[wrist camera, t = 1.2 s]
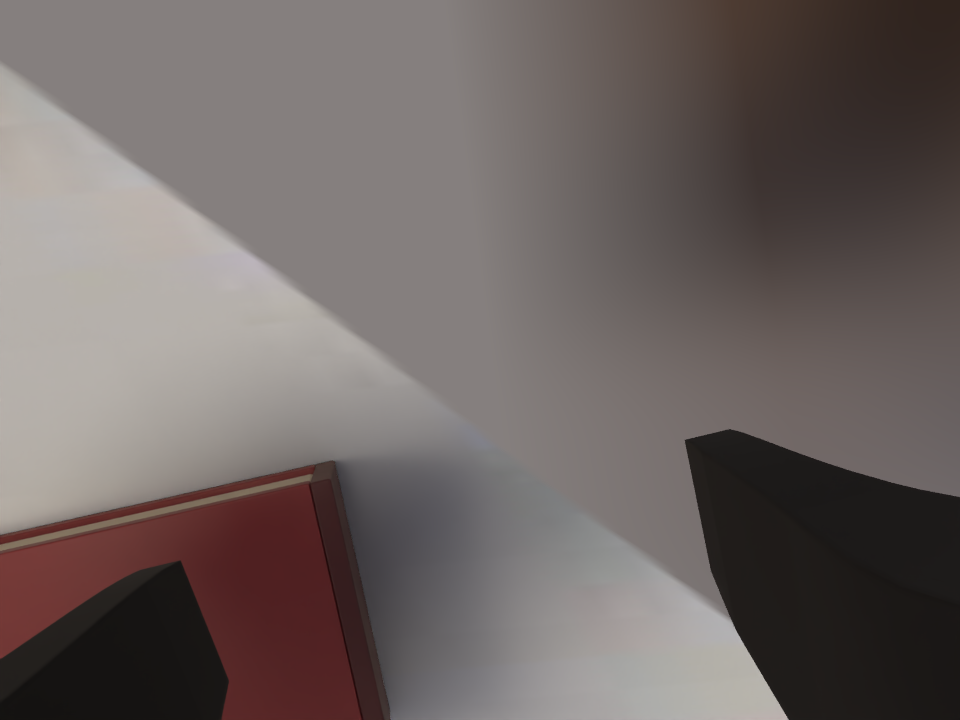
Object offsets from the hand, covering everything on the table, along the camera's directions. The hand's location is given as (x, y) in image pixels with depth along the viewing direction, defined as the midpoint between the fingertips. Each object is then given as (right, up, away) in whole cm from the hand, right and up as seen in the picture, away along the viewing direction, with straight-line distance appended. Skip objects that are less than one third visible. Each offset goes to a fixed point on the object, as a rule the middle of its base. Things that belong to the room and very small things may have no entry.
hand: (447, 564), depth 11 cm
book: (-7, -4, +10) cm, 13 cm away
